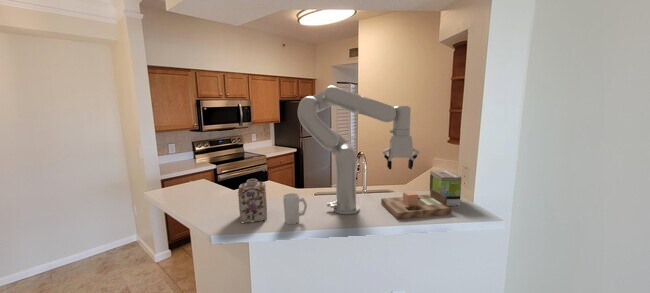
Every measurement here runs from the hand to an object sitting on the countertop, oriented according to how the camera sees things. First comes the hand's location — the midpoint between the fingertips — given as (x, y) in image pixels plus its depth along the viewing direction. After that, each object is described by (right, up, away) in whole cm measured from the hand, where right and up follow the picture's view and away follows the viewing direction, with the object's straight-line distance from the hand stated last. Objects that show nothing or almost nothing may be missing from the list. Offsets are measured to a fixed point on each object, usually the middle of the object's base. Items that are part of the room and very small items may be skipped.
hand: (399, 168), depth 123 cm
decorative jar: (-69, -23, -1) cm, 72 cm away
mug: (-48, -23, -7) cm, 54 cm away
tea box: (+26, -18, +12) cm, 34 cm away
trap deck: (+8, -20, +3) cm, 21 cm away
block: (+6, -17, +2) cm, 18 cm away
